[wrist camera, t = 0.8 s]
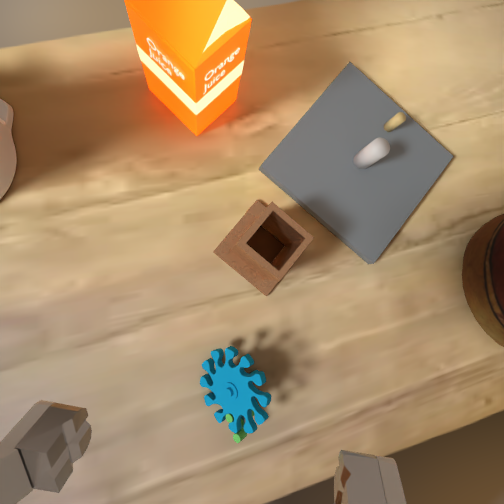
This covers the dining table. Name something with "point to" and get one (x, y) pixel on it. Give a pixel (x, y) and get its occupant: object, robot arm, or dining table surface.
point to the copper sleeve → (248, 259)
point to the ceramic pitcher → (486, 277)
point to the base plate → (336, 174)
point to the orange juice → (191, 54)
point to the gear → (235, 392)
